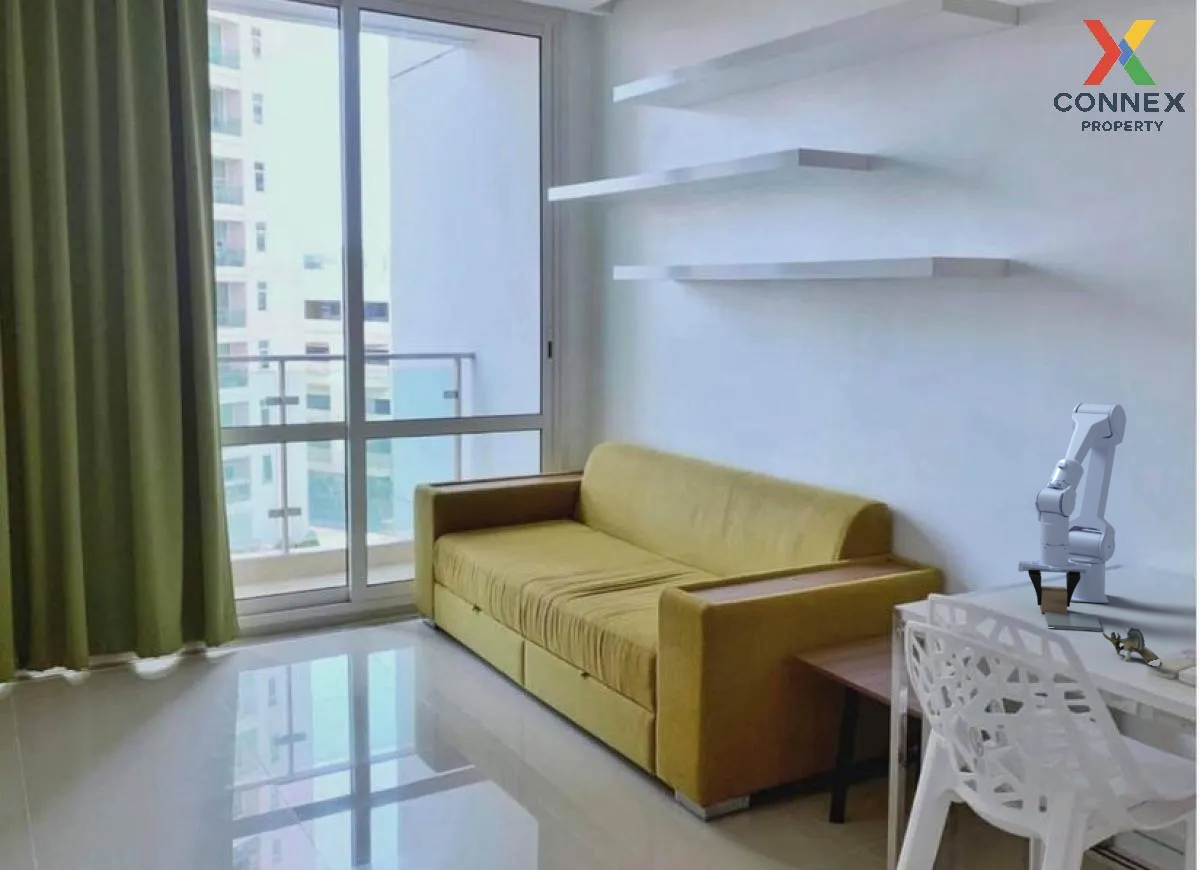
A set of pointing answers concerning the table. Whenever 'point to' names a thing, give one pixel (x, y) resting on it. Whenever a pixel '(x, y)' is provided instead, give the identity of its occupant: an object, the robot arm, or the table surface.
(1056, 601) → the walnut cube
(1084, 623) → the slate coaster
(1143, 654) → the eagle figurine
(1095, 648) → the table surface
